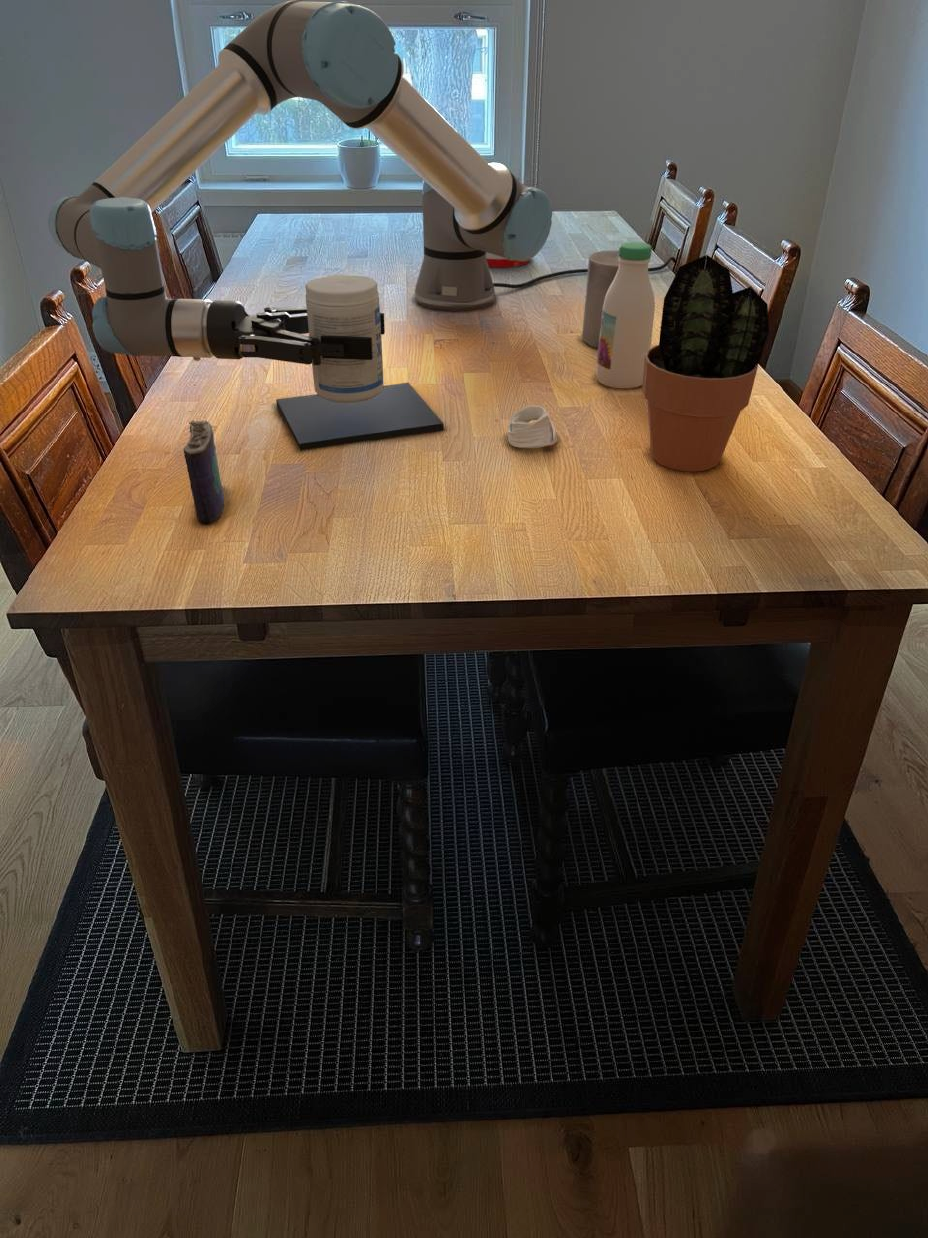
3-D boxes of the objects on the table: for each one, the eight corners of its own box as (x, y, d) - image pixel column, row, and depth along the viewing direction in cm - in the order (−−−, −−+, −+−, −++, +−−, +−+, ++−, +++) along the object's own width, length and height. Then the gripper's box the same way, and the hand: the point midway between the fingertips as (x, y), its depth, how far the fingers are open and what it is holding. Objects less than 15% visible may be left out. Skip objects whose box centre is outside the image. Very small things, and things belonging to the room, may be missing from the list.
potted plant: (676, 489, 112) (709, 279, 97) (611, 447, 122) (633, 250, 107) (761, 467, 117) (805, 264, 103) (693, 428, 127) (724, 238, 112)
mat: (408, 388, 138) (408, 382, 137) (443, 430, 126) (443, 423, 125) (276, 405, 132) (275, 399, 132) (299, 450, 120) (299, 443, 119)
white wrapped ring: (562, 458, 121) (568, 425, 118) (512, 457, 119) (518, 423, 116) (547, 429, 127) (553, 397, 124) (500, 428, 125) (505, 395, 122)
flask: (202, 488, 111) (188, 405, 105) (227, 487, 111) (214, 404, 105) (195, 526, 104) (179, 439, 97) (221, 525, 104) (207, 437, 98)
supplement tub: (396, 396, 125) (392, 286, 117) (334, 411, 121) (325, 297, 112) (362, 374, 132) (357, 268, 123) (302, 387, 127) (292, 279, 119)
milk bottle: (649, 375, 143) (667, 240, 132) (640, 392, 137) (658, 253, 126) (601, 368, 145) (614, 236, 134) (590, 385, 139) (603, 248, 128)
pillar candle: (645, 336, 158) (656, 245, 150) (628, 353, 151) (639, 259, 142) (591, 328, 162) (599, 238, 153) (573, 345, 154) (580, 252, 146)
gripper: (240, 330, 134) (391, 336, 133) (190, 386, 116) (365, 394, 115) (233, 278, 130) (389, 283, 128) (181, 327, 112) (362, 334, 110)
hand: (378, 335), depth 121 cm, fingers closed on supplement tub, 9 cm apart
